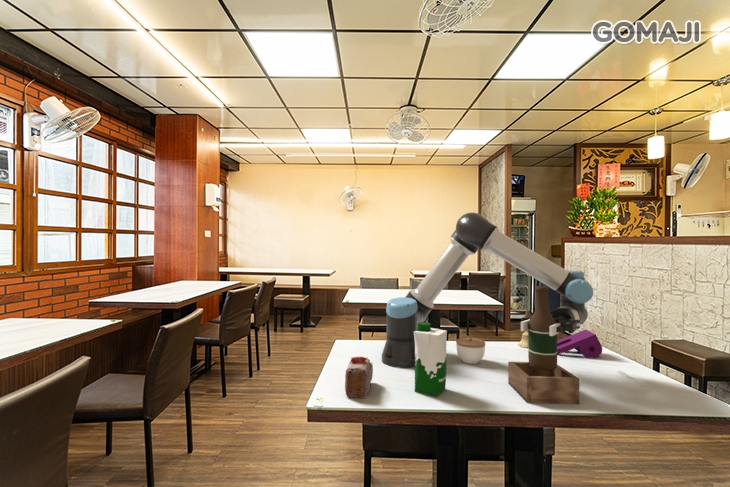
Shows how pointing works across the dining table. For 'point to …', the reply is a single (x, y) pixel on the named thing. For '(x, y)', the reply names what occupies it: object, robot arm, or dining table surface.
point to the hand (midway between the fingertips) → (536, 328)
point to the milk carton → (430, 359)
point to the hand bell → (525, 334)
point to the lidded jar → (470, 349)
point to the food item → (358, 377)
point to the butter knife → (628, 377)
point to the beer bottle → (542, 334)
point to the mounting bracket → (581, 344)
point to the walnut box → (543, 384)
